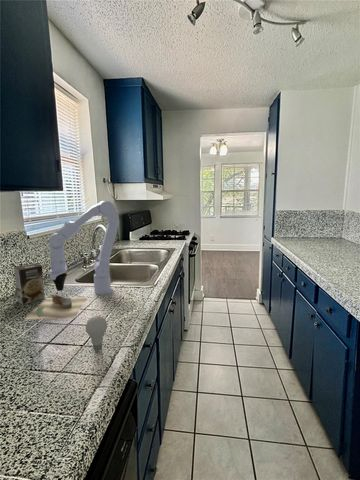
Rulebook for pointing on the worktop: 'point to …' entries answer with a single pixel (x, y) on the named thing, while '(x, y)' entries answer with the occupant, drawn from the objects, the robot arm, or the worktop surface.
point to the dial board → (57, 309)
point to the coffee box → (29, 283)
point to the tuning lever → (62, 301)
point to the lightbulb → (96, 331)
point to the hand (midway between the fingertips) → (60, 290)
